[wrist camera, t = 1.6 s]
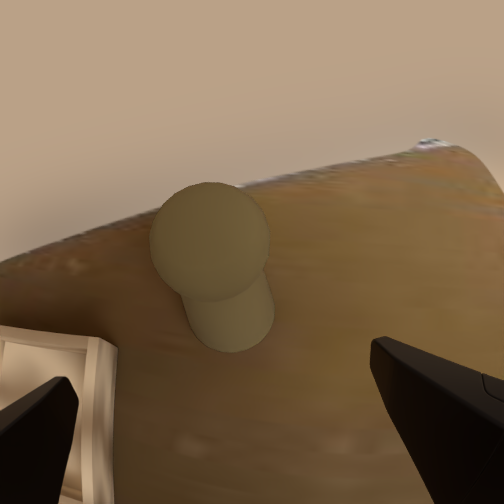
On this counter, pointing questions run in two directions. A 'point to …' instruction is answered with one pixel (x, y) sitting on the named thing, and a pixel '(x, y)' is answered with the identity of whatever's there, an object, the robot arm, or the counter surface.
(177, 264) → the olive pepper mill
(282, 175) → the counter surface
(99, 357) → the birch tray
